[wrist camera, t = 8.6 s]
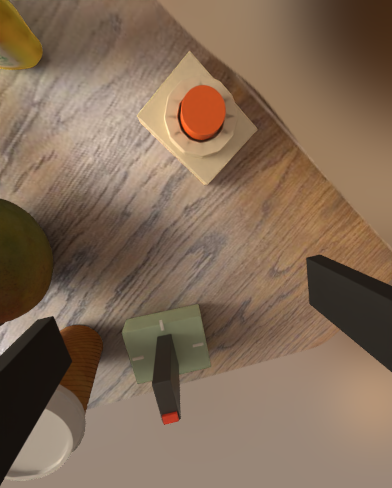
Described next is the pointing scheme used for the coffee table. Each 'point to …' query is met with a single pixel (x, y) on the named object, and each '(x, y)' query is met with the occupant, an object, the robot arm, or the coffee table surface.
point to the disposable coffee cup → (62, 410)
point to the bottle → (16, 40)
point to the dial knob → (166, 380)
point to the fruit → (22, 262)
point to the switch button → (202, 112)
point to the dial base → (183, 334)
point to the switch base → (174, 136)
